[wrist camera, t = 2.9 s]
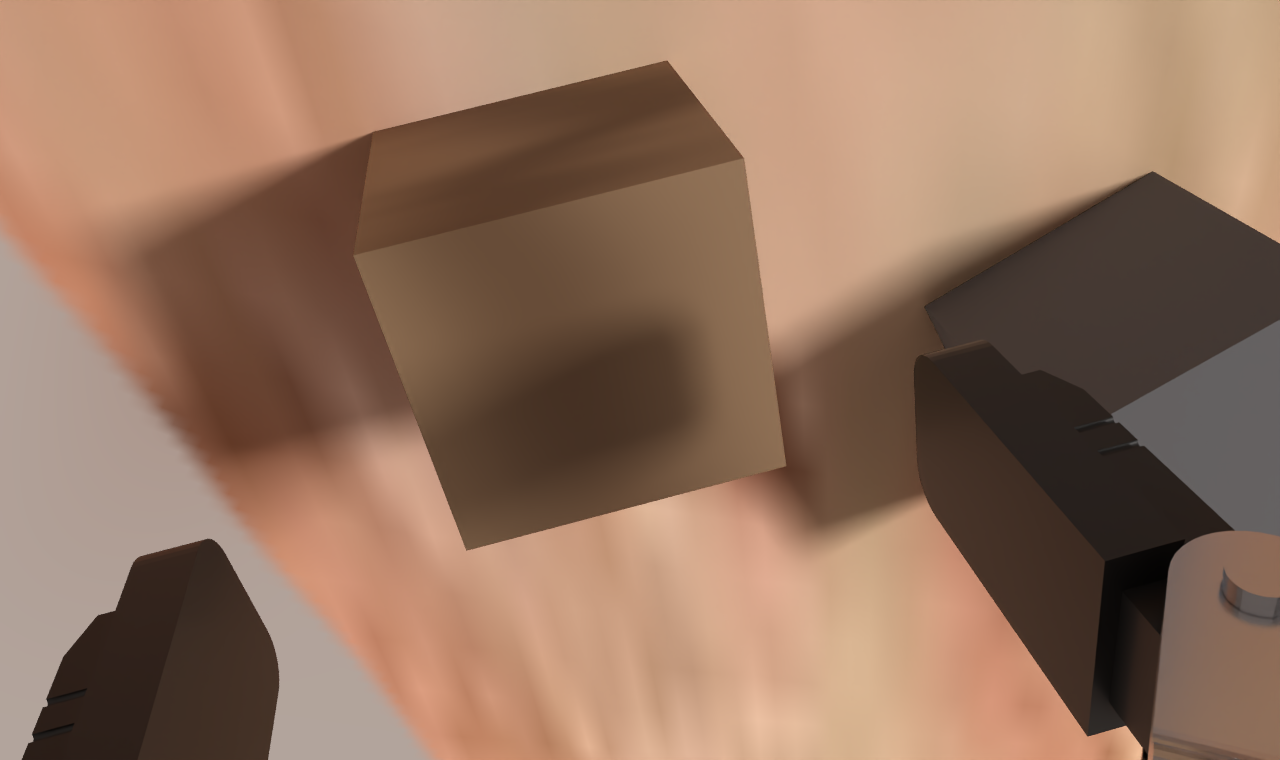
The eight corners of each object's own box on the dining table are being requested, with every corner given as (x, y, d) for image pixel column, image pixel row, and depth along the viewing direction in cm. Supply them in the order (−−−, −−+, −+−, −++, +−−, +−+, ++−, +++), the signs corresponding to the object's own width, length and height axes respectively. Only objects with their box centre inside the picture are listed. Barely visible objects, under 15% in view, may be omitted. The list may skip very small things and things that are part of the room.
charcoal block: (1150, 169, 20) (1346, 282, 15) (1203, 349, 22) (1383, 487, 18) (923, 305, 20) (1051, 447, 16) (1000, 463, 23) (1128, 620, 19)
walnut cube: (665, 59, 17) (743, 157, 13) (710, 314, 19) (786, 465, 15) (373, 130, 17) (353, 255, 12) (458, 378, 19) (466, 550, 15)
